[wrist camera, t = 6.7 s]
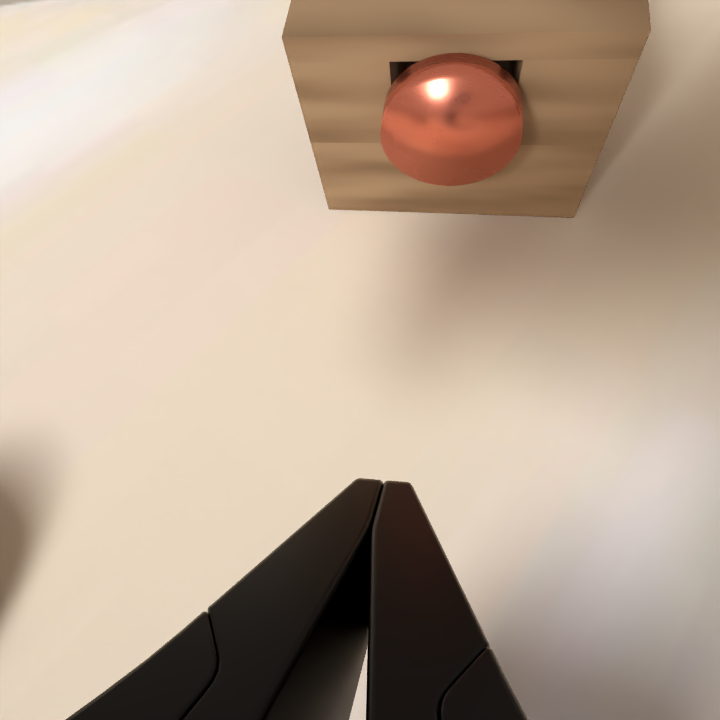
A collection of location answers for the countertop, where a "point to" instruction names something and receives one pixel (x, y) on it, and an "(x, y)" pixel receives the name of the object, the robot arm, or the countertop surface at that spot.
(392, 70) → the hitch block
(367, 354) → the countertop surface
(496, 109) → the steel pin
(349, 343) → the countertop surface
